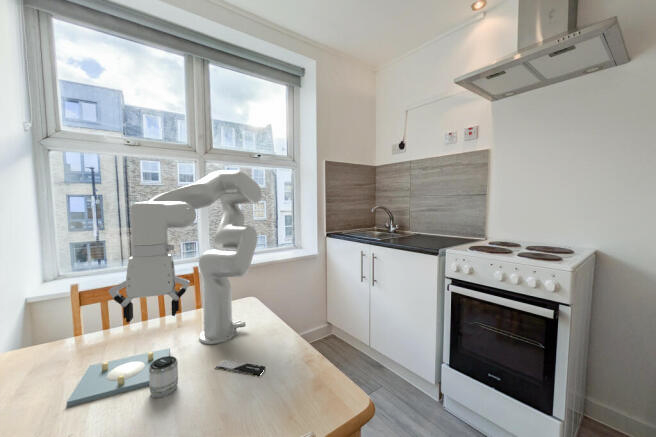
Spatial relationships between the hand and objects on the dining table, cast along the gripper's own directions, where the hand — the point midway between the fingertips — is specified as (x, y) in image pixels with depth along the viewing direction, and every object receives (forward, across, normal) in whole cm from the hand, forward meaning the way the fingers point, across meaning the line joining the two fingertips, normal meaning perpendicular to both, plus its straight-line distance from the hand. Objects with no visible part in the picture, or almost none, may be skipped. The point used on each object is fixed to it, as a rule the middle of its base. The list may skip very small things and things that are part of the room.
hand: (152, 317), depth 67 cm
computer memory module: (+20, -21, 0) cm, 29 cm away
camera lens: (+19, -2, +1) cm, 20 cm away
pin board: (+19, +9, -10) cm, 23 cm away
